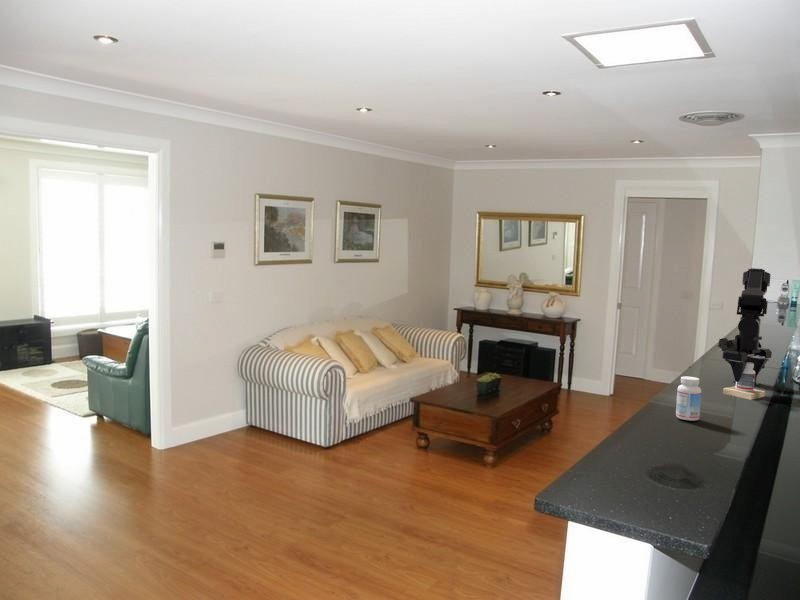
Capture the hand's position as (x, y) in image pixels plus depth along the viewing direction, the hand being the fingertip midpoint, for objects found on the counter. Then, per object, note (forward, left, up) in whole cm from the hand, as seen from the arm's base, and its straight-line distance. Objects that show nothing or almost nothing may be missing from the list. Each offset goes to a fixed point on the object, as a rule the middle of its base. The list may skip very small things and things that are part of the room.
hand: (745, 380), depth 206 cm
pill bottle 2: (0, 0, -3) cm, 3 cm away
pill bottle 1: (+44, +9, -5) cm, 45 cm away
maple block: (0, 0, -6) cm, 6 cm away
